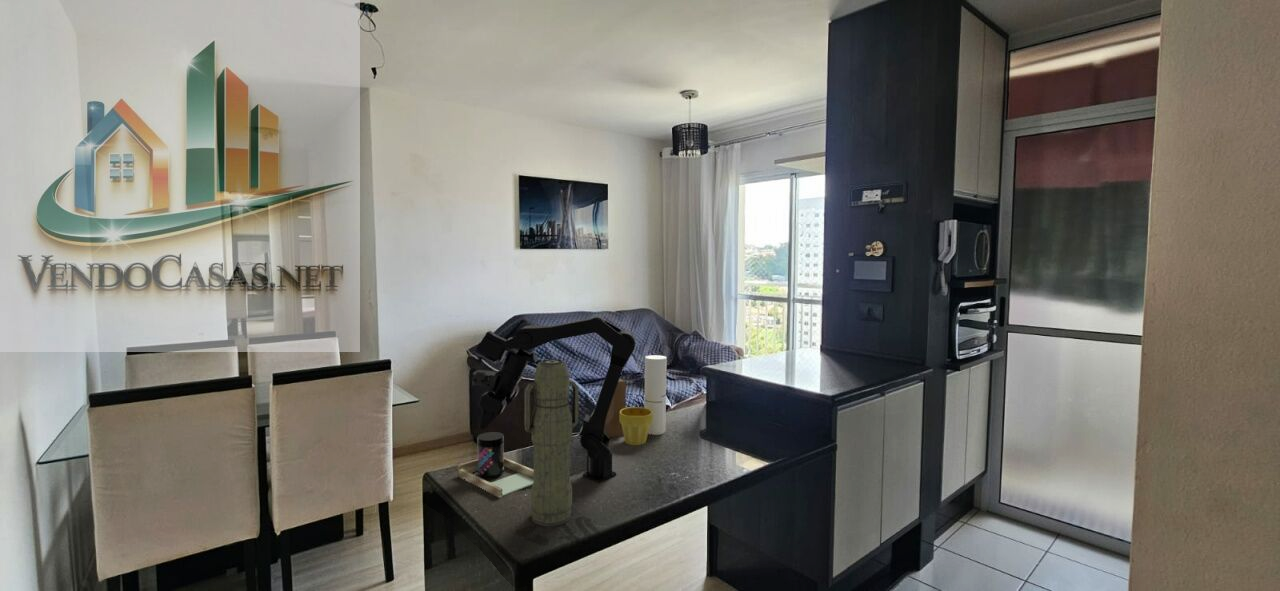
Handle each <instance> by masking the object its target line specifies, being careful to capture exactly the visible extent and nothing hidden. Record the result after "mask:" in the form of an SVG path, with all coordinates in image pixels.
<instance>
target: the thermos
mask: <svg viewBox="0 0 1280 591" xmlns="http://www.w3.org/2000/svg"><path fill="white" fill-rule="evenodd" d="M570 377H571V376H570V371H569V369H568V365H567V362H566V361H563V359H558V358H551V359H544V360H543V359H542V360H541V361H540V362H537V366H536V369H535V372H534V381H532V382H531V383H528V384H527V385H526V387H525V388H524V394H523V395H524V397H523V398H524V399H523V400H524V404H523V405H524V406H523V407H524V408H523V410H524V412H523V413H524V415H523V416H524V418H523V419H524V421H523V422H524V430H525V432H526V433H530V434H531V442H532V445H533V470H534V482H533V485H531V489H530V501H531V502H530V507H531V519H532V522H533V523H534V524H536V525H538V526H541V527H555V526H560V525H563V524H565V523H567V522H568V521H569V520H571V518H572V505H573V486H572V483H571V480H570V479H571V476H570V475H571V474H570V471H571V470H570V469H571V461H570V460H571V456H570V455H571V454H570V453H571V450H570V449H571V443H572V442H571V441H572V440H573V430H574V428H575V427H576V426H577V425H578V424H579V401H580V400H579V399H580V398H579V390H580V389H579V386H578V384H577V383H576V382H575V381H574V380H573V379H570ZM570 387H572V388H571V390H572V392H571V393H572V394H571V398H572V399H571V401H572V403H571V406H572V407H571V408H570V401H569V398H570ZM532 390H534V391H533V392H534V393H533V394H534V399H535V402H534V407H533V411H532V415H531V391H532Z"/></svg>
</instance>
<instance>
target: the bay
mask: <svg viewBox="0 0 1280 591" xmlns="http://www.w3.org/2000/svg"><path fill="white" fill-rule="evenodd" d="M505 467H506V468H507V469H509V470H512V471H514V472H516V473H514V474H512V475H509V476H505V477H503V478H500V479H498V480H495V481H492V482H490V481H487V479H483V478H481V477H479V476H477V475H475V474H473V472H474V473H477V472H478V458H476V459H474V460H470V461H466V462H464V463H460V464H458V465H457V477H458V476H459V477H458V478H460V479H461V480H464V479H465V480H464V481H466V482H468V483H470V484H471V483H472V485H473V484H474V485H473V486H475V485H476V486H475V487H477V486H478V488H479V487H480V488H479V489H481V488H482V490H483V489H484V490H483V491H485V490H486V491H485V492H487V493H489V494H491V495H493V496H495V497H496V498H499V499H501V498H503V497H504V496H507V495H509V493H510V494H512V493H514V492H517V491H520V490H522V489H525V488H527V487H530V486H532V485H533V482H534V468H531V467H527V466H525V465H523V464H520V463H518V462H517V461H514V460H512V459H510V458H506V457H505V456H504V468H505ZM476 471H477V472H476Z"/></svg>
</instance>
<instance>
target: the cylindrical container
mask: <svg viewBox="0 0 1280 591" xmlns="http://www.w3.org/2000/svg"><path fill="white" fill-rule="evenodd" d="M667 359H668V358H667V356H665V355H658V354H657V355H655V354H653V355H651V354H650V355H646V356H645V357H644V396H643V397H644V399H643V400H644V404H643V405H644V406H643V408H647V409H650V410H651V411H652V413H653V414H652V423H651V424H650V426H649V431H648V435H651V434H652V436H654V435H655V436H659V435H663V434H665V433H666V414H667V411H666V409H667V403H666V402H667V366H668V365H667V364H668V363H667Z"/></svg>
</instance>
